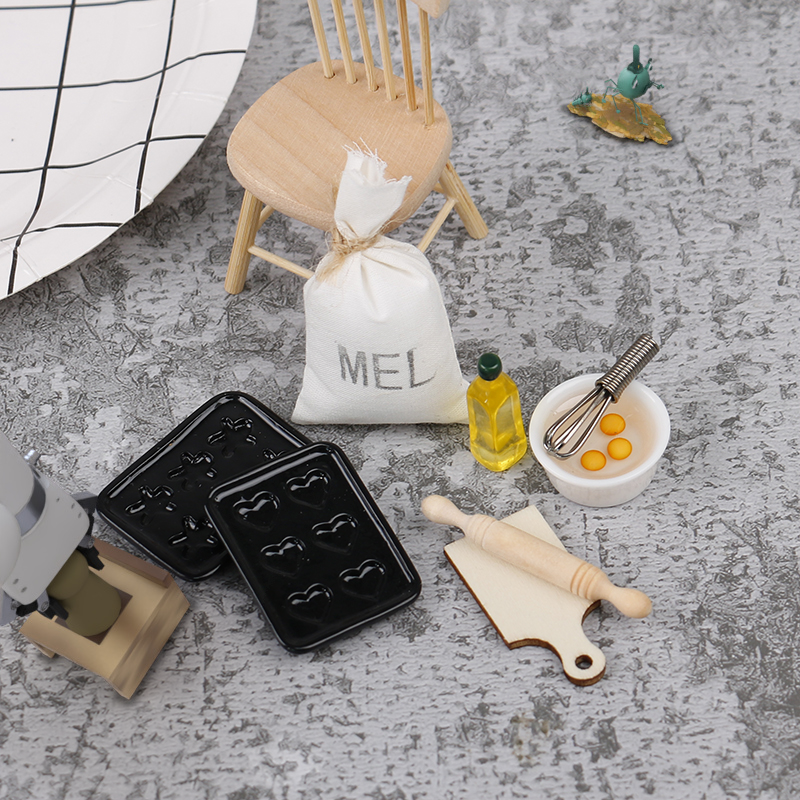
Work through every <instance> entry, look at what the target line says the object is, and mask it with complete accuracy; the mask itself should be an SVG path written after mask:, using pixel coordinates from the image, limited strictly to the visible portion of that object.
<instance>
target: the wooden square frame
mask: <svg viewBox="0 0 800 800" xmlns="http://www.w3.org/2000/svg"><path fill="white" fill-rule="evenodd" d="M91 536H92V537H94V538H95V543H94V546H95V548H96V549H97V550H98V551H99V555H98V558H99V559H100V560H101V561H102V563H103V564H104V565H105V566H104V568H103V569H102V570H100V571H98V570H96V569H94V568H92V567H90V566H88V567H89V569H90V570H91V571H92V572H94V573H95V574H96V575H98V576H99V577H101V578H102V579H103V580H105V581H106V582H107V583H109V584H110V585H111V586H113V587H114V588H115V589H116V590H117V592H118V593H119V596H120V598H121V609H120V612H119V615H118V617H117V619H116V620H115V622H114V623H113V624H112V625H111V626H110V627H109V628H108V629H107V630H105V631H103V632H101V633H99V634H97V635H92V636H82V635H78V634H76V633H74V632H73V631H72V630H71V629H70V628H69V627H68V625H67V624H66V622H65V620H63V619H61V618H59V617H57V616H54V617H53V619H52V620H50V619H48V618H46V617H44V616H43V615H41V614H40V613H39V612H38V611H34V612H32V613H30V614H29V616H28V618H27V619H26V620H25V622H24V623H23V625H22V626H21V627H20V629H18V632H19V633H20V634H21V635H22V636H23V637H24V639H26V640H27V641H29V642H30V643H31V644H32V645H33V646H34V647H35V648H36V649H37V650H39V652H41V653H42V654H43V655H44V656H47V657H48V658H50V659H53V658H54V656H55V655H56V654H57V655H59V656H61V657H62V658H64V659H67V660H68V661H70V662H72V663H74V664H76V665H78V666H80V667H81V668H83V669H86V670H87V671H89V672H91V673H93V674H95V675H97V676H98V677H101V678H102V679H104V681H105V682H107V684H108V685H110V686H111V688H113V689H114V690H115V692H117V694H119V695H120V696H122V697H123V698H125V699H126V700H130V699H131V698H132V696H133V695H134V693H135V692H136V690H137V688H138V687H139V686H140V684H141V682H142V681H143V680H144V677H146V674H147V673H148V671H149V670H150V668H151V667H152V665H153V664H154V662H155V660H156V659H157V657H158V656H159V655H160V653H161V651H162V650H163V648H164V647H165V645H166V644H167V642H168V641H169V639H170V638H171V636H172V634H173V633H174V631H175V630H176V628H177V626H178V625H179V623H180V622H181V620H182V619H183V617H184V615H185V614H186V612H187V611H188V610H189V608H190V607H191V603H190V601H189V600H188V598H187V597H186V596H185V594H184V593H183V591H182V589H181V588H180V587H179V585H178V584H177V582H176V581H175V579H174V578H173V576H172V574H171V573H170V571H167V570H166V569H164V568H162V567H160V566H157V565H155V564H153V563H151V562H149V561H146V560H144V559H142V558H140V557H138V556H136V555H134V554H131V553H130V552H128V551H125V550H124V549H121V548H119V547H117V546H115V545H113V544H111V543H109V542H106V541H104V540H103V539H100V538H98V537H96V536H94V535H91Z"/></svg>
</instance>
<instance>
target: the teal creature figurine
mask: <svg viewBox="0 0 800 800" xmlns="http://www.w3.org/2000/svg"><path fill="white" fill-rule="evenodd" d="M640 55H641V48H640V46H639V45H638V44H637V43H636V44H633V45H632V61H631V62H630V63H628V64H627V66H625V67H624V68H623V69H622V70H621V71H620V73H619V74H618V77H617V81H616V82H615V81H614V80H613V79H612V78H610V79H607V80H604V82H603V83H605V84H606V83H608V82H611V83H613V85H615V87H613V86H606V90H605V92H604V93H594V92H593V90H591V91H590V92H589V86H586V89H585V92H584V93H583V92H580V96H579V95H577V96H575V97H574V98H573V100H572V101H570V102H569V104H568V105H567V106H566V107H567V108H568V110H569V111H570V113H572V114H575V115H578V116H579V117H581V116H582V117H589V118H591V122H592V123H593V124H594V125H595V126H598V127H599V128H601V129H602V130H604V131H605V132H607V133H609V134H611V135H613V136H616V137H618V138H620V139H624V138H628V139H630V140H634V141H639V142H645V138H646V139H651V140H653V141H654V142H656V143H658V144H661V145H669V143H668V142H669V141H673V136H672V135H671V132H669V130H667V129H666V126H665V125H666V121H665V119H663V118H662V116H661V115H660V114H658V113H657V111H656V110H655V109H653V108H654V107H653V105H652V104H649V103H643V102H639V101H636V100H635V99H638V98H641V97H642V96H644V95H645V94H646V93H647V92H648V90H649V89H651V88H652V86H654V87H655V88H656V90H661V89H665V86H664V85H663V84H662V83H660V84H658V83H656V82H655V81H656V80H655V79H656V78H653V81H652V80H651V77H650V74H649V73H650V72H651V71H653V65H652V62H653V57H649V58H648V60H647V63H646V65H645V66H644V64H643V63H642V62H641V61H640V57H641V56H640ZM609 89H613V90H612V93H614V94H607V93H608V90H609ZM616 91H618V92H616Z"/></svg>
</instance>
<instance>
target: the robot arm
mask: <svg viewBox="0 0 800 800" xmlns="http://www.w3.org/2000/svg"><path fill="white" fill-rule="evenodd" d="M41 457H42V455H41V454H40V453H39V452H38V451H37V450H35V449H33V448H31V447H28V448H27V449H26V450H25V451H24V453H22V452H21V454H20V452H19V451H18V450H17V448H16V447H15V446H14V445H13V443H12V442H11V441H10V439H9V438H8V437H7V435H6V434H5V433H4V431H3V430H2V429H1V428H0V627H5V626H6V625H8V624H10V623H11V622H13V621H15V620H17V618H18V617H20V618H25V616H28V615H31V614H32V612H34V611H38V612H39V613H40V614H41V615H43V616H44V617H46V618H48V619H50V620H52V619H53V617H54V616H57V617H59V618H61V619H63V620H67V618H68V617H69V615H68V614H69V613H68V612H67V611H66V610H65V609H64V608H63V607H62V605H61V604H60V603H59V602H58V601H57V600H55V599H54V598H52V597H50V596H48V595H47V591H46V588H47V586H48V585H49V584H50V582H51V581H52V580H53V578H54V577H55V576H56V574H57V573H58V572H59V570H60V569H61V568H62V566H63V565H64V563H65V562H66V561H67V559H68V558H69V557H70V555H71V554H72V553H73V551H74V550H78V551H80V553H81V554H82V555H83V556H84V557H85V558H86V560H87V563H88V566H90V567H92V568H94V569H96V570H98V571H100V570H102V569H103V568H104V566H105V565H104V564H103V563H102V561H101V560H100V559H99V558H98V555H99V551H98V550H97V549H96V548H95V546H94V543H95V538H94V537H95V536H94V537H92V536H93V535H92V534H93V530H94V525H95V519H96V517H95V516H94V514H95V512H96V509H97V505H98V502H99V495H98V494H95V493H93V492H91V491H88V490H85V491H81V492H80V491H79V492H75V493H68V492H67V491H66V490H65V489H64V488H63V487H61V486H60V485H59V484H58V483H57V482H55V481H54V480H53V479H52V478H50V477H49V476H48V475H46V474H45V473H43V472H41V471H40V470H38V469H37V465H38V463H37V462H39V460H40V459H41ZM91 535H92V536H91Z"/></svg>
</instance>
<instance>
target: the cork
mask: <svg viewBox="0 0 800 800" xmlns="http://www.w3.org/2000/svg"><path fill="white" fill-rule="evenodd" d="M46 591H47V595H48V596H50V597H52V598H54V599H55V600H57V601H58V602H59V603H60V604H61V605H62V607H63V608H64V609H65V610H66V611H67V612H68V613H69V614H68V615H69V617H68V618H67V620H65V622H66V624H67V625H68V627H69V628H70V629H71V630H72V631H73V632H74V633H76V634H78V635H82V636H92V635H97V634H99V633H101V632H103V631H105V630H107V629H108V628H109V627H110V626H111V625H112V624H113V623H114V622H115V620H116V619H117V617H118V615H119V612H120V609H121V598H120V596H119V593H118V592H117V590H116V589H115V588H114V587H113V586H111V585H110V584H109V583H107V582H106V581H105V580H103V579H102V578H101V577H99V576H98V575H96V574H95V573H94V572H92V571H91V570H90V569H89V567H88V563H87V560H86V558H85V557H84V556H83V555H82V554H81V553H80V551H78V550H74V551H73V553H72V554H71V555H70V557H69V558H68V559H67V561H66V562H65V563H64V565H63V566H62V568H61V569H60V570H59V572H58V573H57V574H56V576H55V577H54V578H53V580H52V581H51V582H50V584H49V585H48V586H47V588H46Z"/></svg>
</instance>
